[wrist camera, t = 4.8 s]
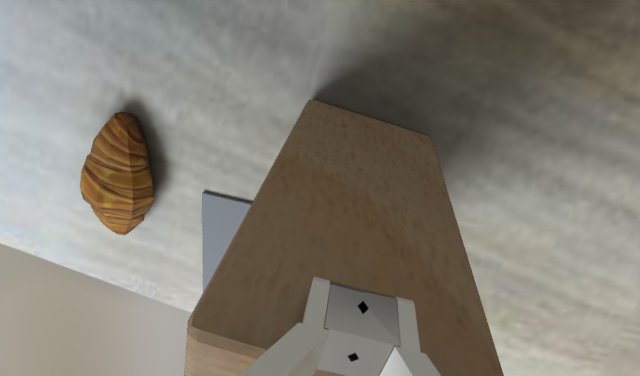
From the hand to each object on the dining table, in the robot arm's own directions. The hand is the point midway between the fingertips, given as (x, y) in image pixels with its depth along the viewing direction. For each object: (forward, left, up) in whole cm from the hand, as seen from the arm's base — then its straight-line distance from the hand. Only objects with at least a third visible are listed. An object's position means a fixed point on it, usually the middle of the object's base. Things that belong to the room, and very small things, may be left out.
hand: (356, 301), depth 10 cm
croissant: (+20, +12, -19) cm, 30 cm away
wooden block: (0, +6, -19) cm, 19 cm away
